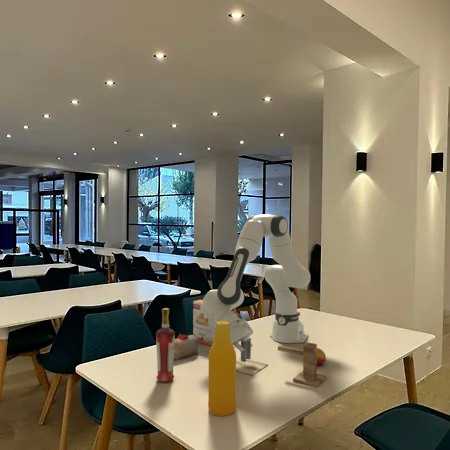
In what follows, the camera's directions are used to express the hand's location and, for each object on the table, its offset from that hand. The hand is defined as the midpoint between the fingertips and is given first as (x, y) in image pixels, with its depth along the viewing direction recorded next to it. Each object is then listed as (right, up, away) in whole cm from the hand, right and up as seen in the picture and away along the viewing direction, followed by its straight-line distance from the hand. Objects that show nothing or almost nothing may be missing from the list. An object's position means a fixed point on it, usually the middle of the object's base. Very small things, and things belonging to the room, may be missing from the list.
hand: (247, 349), depth 172 cm
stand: (+20, -8, -11) cm, 24 cm away
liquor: (-33, -8, -14) cm, 37 cm away
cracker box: (-19, -7, +34) cm, 40 cm away
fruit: (+30, -8, +4) cm, 32 cm away
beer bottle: (-10, -8, -38) cm, 41 cm away
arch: (-1, -5, 0) cm, 5 cm away
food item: (-29, -8, +15) cm, 33 cm away
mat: (-1, -8, +1) cm, 8 cm away
